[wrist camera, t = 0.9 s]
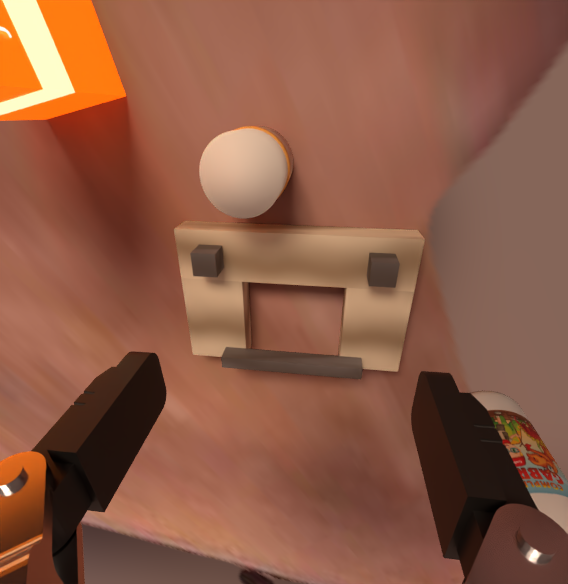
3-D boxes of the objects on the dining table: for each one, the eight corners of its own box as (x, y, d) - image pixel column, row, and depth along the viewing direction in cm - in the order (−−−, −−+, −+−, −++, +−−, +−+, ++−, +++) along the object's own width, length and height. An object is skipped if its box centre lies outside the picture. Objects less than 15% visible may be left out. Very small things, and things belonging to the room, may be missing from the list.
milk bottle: (529, 427, 36) (716, 724, 19) (457, 447, 39) (559, 723, 21) (505, 377, 34) (695, 666, 16) (429, 403, 36) (521, 674, 19)
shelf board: (184, 220, 30) (163, 236, 26) (418, 230, 28) (431, 248, 24) (201, 340, 36) (185, 367, 32) (393, 355, 34) (401, 386, 30)
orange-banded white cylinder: (225, 124, 26) (192, 128, 20) (295, 125, 26) (283, 129, 19) (230, 195, 29) (202, 218, 23) (294, 197, 28) (283, 221, 22)
